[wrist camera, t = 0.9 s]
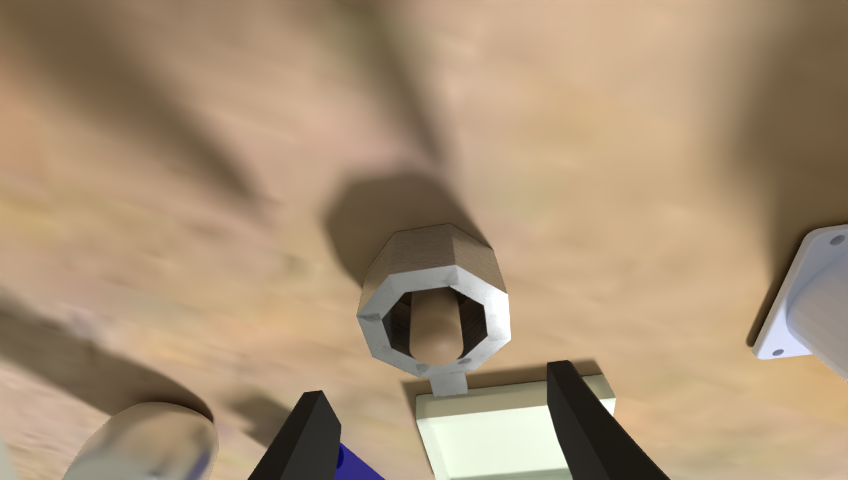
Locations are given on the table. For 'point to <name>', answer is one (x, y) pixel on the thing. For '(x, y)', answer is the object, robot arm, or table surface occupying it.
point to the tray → (497, 432)
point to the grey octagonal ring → (425, 269)
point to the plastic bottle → (149, 446)
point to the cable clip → (353, 467)
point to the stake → (435, 326)
